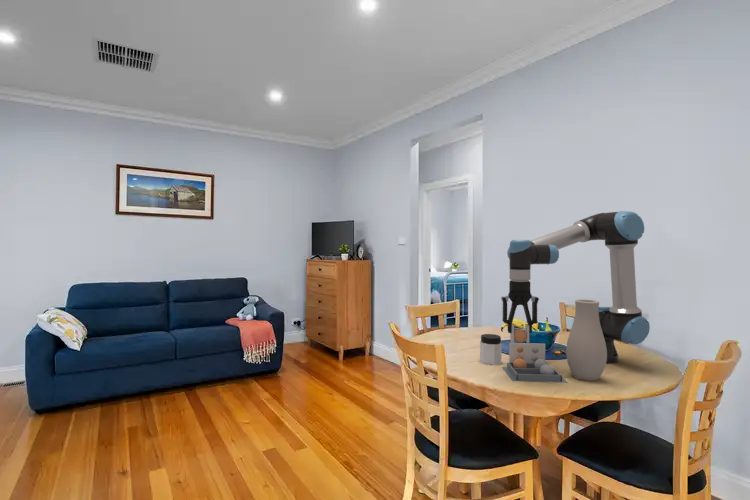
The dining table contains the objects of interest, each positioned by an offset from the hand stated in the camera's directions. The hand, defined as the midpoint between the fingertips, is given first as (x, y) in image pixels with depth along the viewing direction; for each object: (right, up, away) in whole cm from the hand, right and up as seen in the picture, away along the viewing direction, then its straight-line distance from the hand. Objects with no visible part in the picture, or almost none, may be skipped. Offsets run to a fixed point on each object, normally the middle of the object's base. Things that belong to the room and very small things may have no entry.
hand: (519, 341), depth 158 cm
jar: (-6, -14, +19) cm, 24 cm away
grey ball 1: (+10, -13, +6) cm, 18 cm away
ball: (0, 0, 0) cm, 0 cm away
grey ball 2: (+10, -13, -2) cm, 16 cm away
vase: (+25, -15, -1) cm, 29 cm away
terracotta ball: (+2, -13, +6) cm, 15 cm away
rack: (+6, -14, +2) cm, 16 cm away
